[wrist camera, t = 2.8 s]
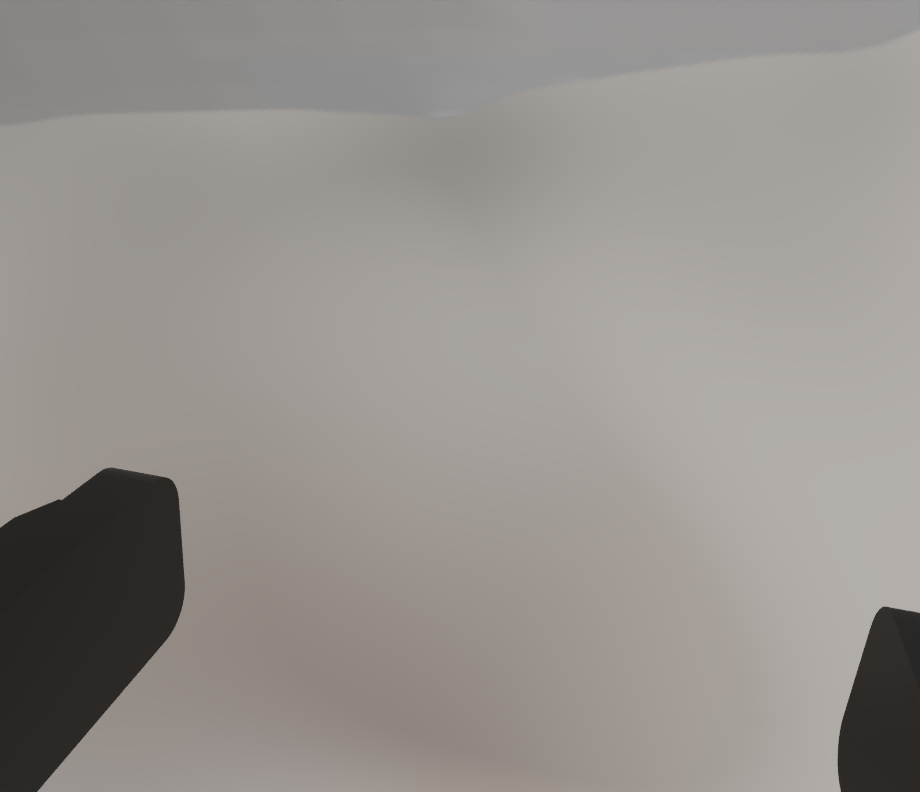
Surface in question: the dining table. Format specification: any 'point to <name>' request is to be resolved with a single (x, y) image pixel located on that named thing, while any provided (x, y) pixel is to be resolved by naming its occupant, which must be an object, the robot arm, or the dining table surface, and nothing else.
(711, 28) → the dining table surface
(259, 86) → the dining table surface
